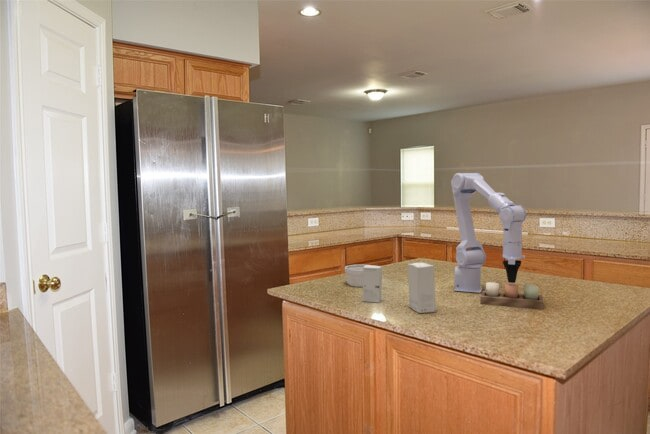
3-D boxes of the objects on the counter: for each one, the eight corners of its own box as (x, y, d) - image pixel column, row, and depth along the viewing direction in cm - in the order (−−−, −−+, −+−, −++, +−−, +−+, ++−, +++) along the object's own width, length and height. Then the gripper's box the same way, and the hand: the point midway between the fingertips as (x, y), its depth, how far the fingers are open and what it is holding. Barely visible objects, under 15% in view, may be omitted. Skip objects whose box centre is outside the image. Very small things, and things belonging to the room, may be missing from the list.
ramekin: (377, 280, 191) (377, 264, 190) (377, 288, 178) (377, 270, 177) (345, 280, 192) (345, 264, 191) (343, 287, 179) (343, 270, 178)
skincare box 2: (435, 312, 144) (436, 265, 143) (418, 313, 143) (418, 266, 141) (424, 305, 152) (424, 261, 151) (407, 306, 151) (407, 262, 150)
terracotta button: (504, 297, 152) (504, 285, 152) (504, 294, 156) (505, 283, 156) (518, 298, 150) (518, 286, 150) (518, 295, 154) (518, 284, 154)
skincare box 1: (362, 301, 158) (362, 267, 157) (365, 298, 162) (364, 264, 161) (380, 302, 156) (379, 267, 155) (382, 299, 160) (382, 265, 159)
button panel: (480, 303, 153) (480, 296, 153) (482, 297, 161) (482, 290, 161) (543, 309, 145) (543, 301, 145) (542, 302, 154) (542, 295, 153)
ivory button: (485, 296, 154) (485, 284, 154) (486, 293, 158) (486, 281, 158) (498, 297, 153) (498, 285, 152) (499, 294, 157) (499, 282, 156)
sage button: (524, 299, 150) (524, 287, 149) (524, 296, 154) (524, 284, 153) (538, 300, 148) (538, 288, 148) (537, 297, 152) (538, 285, 152)
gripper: (525, 245, 143) (524, 287, 144) (525, 239, 157) (524, 278, 158) (501, 244, 146) (501, 286, 147) (503, 239, 160) (502, 277, 161)
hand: (511, 282), depth 153 cm, fingers closed
